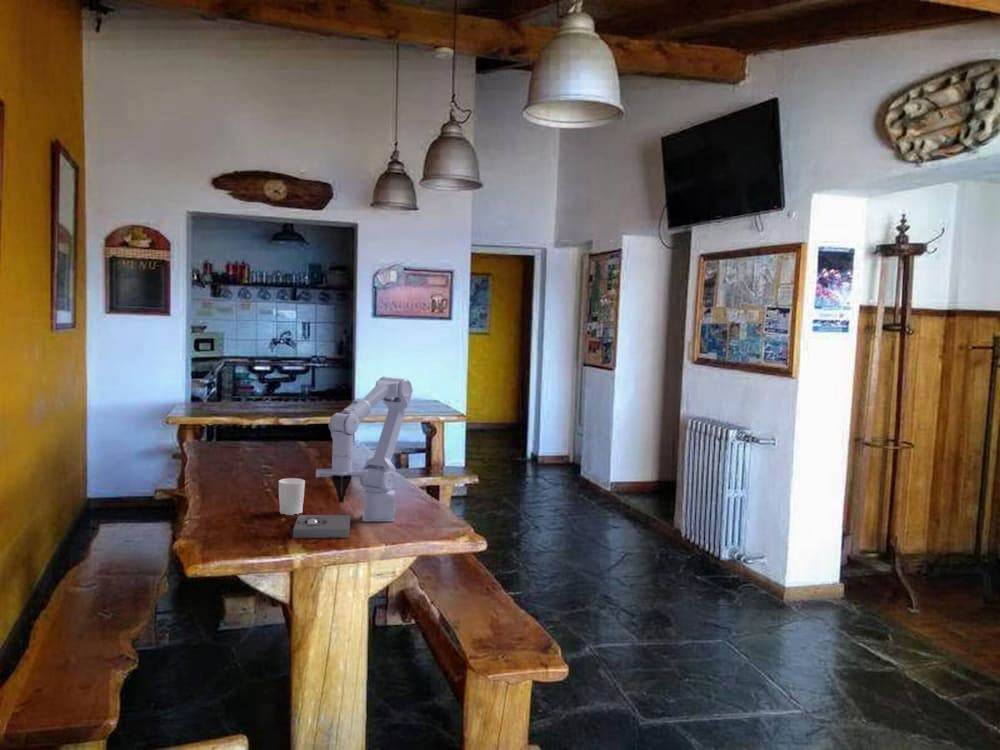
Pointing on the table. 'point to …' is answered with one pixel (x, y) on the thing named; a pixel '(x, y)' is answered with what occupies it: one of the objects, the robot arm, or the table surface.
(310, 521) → the steel ball
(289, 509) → the white cup
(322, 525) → the hole plate
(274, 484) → the table surface
